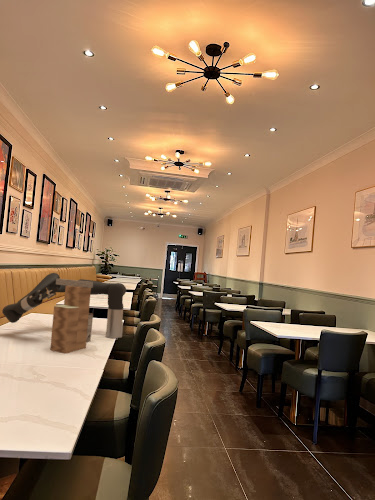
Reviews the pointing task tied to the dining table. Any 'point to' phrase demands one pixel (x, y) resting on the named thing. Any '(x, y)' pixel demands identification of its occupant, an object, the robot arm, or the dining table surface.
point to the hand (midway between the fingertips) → (52, 289)
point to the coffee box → (89, 327)
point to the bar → (74, 283)
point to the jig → (71, 320)
